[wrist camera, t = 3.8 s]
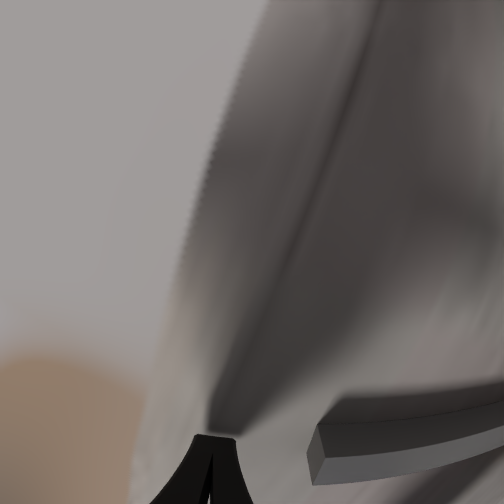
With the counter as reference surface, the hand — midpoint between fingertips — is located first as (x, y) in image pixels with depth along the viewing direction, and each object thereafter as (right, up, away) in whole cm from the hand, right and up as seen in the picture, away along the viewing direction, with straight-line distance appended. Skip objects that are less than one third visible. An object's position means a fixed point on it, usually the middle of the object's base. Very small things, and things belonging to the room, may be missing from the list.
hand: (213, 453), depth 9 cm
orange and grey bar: (+12, -1, +1) cm, 13 cm away
